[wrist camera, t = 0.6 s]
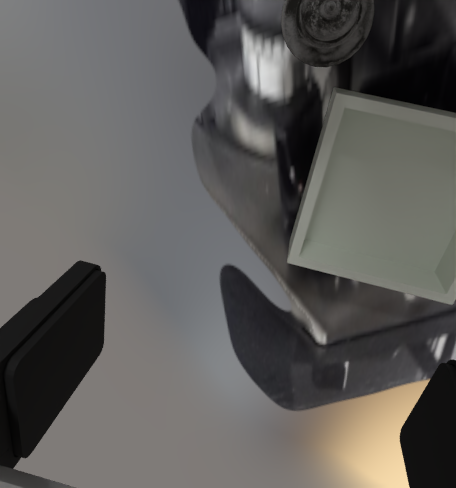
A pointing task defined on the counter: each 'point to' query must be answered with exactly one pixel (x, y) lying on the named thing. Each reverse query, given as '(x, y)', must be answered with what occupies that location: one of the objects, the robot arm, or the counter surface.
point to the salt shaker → (326, 29)
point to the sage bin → (382, 197)
